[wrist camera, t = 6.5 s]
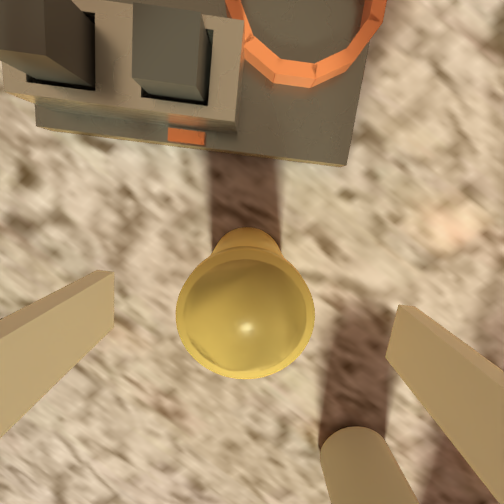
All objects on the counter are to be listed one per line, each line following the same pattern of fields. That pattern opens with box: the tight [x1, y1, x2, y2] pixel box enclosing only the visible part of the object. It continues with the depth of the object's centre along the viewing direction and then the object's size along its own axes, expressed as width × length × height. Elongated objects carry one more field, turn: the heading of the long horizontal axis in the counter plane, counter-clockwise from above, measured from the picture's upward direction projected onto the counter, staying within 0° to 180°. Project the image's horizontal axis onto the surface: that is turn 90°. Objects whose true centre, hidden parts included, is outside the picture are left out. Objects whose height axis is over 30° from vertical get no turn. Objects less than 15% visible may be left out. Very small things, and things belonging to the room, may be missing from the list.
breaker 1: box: [0, 0, 96, 91], centre depth 13 cm, size 3×3×4 cm
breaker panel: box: [2, 0, 370, 167], centre depth 16 cm, size 21×13×5 cm, turn 83°
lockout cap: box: [176, 227, 315, 379], centre depth 17 cm, size 6×6×10 cm
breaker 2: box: [132, 2, 212, 106], centre depth 15 cm, size 3×3×4 cm
